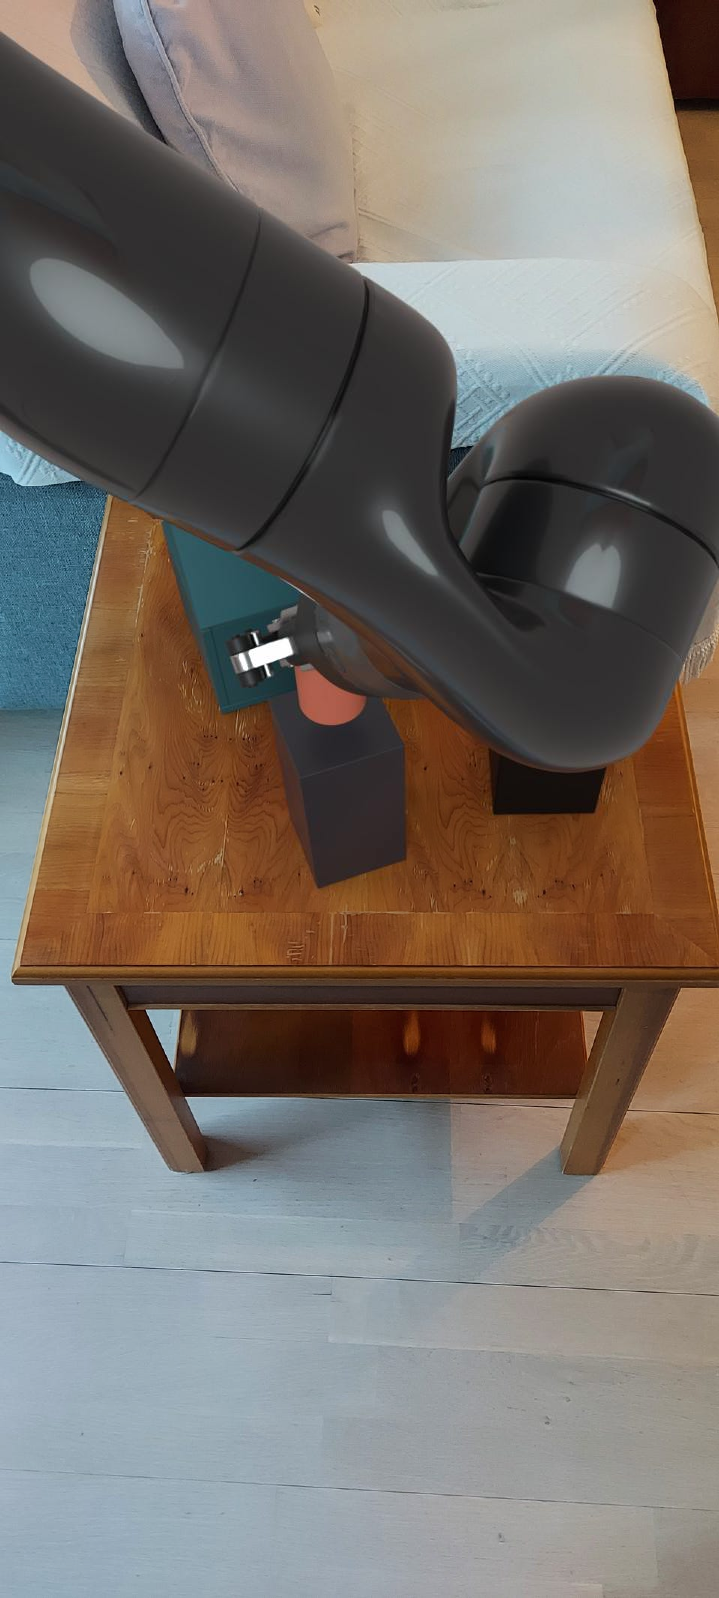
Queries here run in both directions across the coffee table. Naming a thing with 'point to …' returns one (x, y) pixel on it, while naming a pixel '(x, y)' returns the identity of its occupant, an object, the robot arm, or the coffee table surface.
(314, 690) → the lotion bottle
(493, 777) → the tissue box
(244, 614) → the case lid
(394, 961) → the coffee table surface
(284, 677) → the wipes case
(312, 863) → the stand
